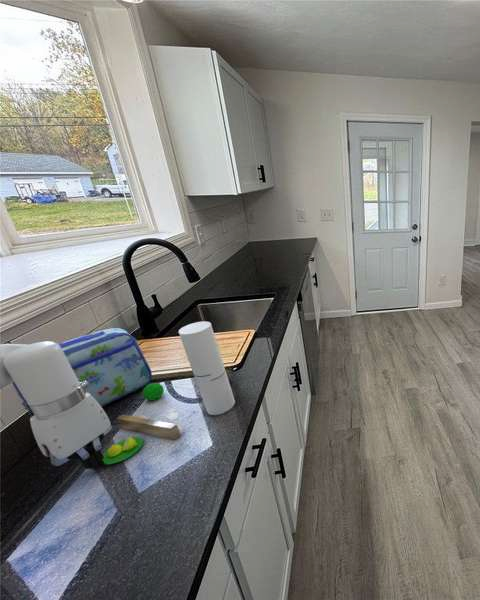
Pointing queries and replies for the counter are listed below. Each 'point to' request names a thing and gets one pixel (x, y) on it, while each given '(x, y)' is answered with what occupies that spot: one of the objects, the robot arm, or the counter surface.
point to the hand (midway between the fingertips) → (96, 466)
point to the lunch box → (105, 365)
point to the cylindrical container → (207, 367)
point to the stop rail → (149, 426)
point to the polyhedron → (153, 391)
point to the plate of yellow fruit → (122, 450)
